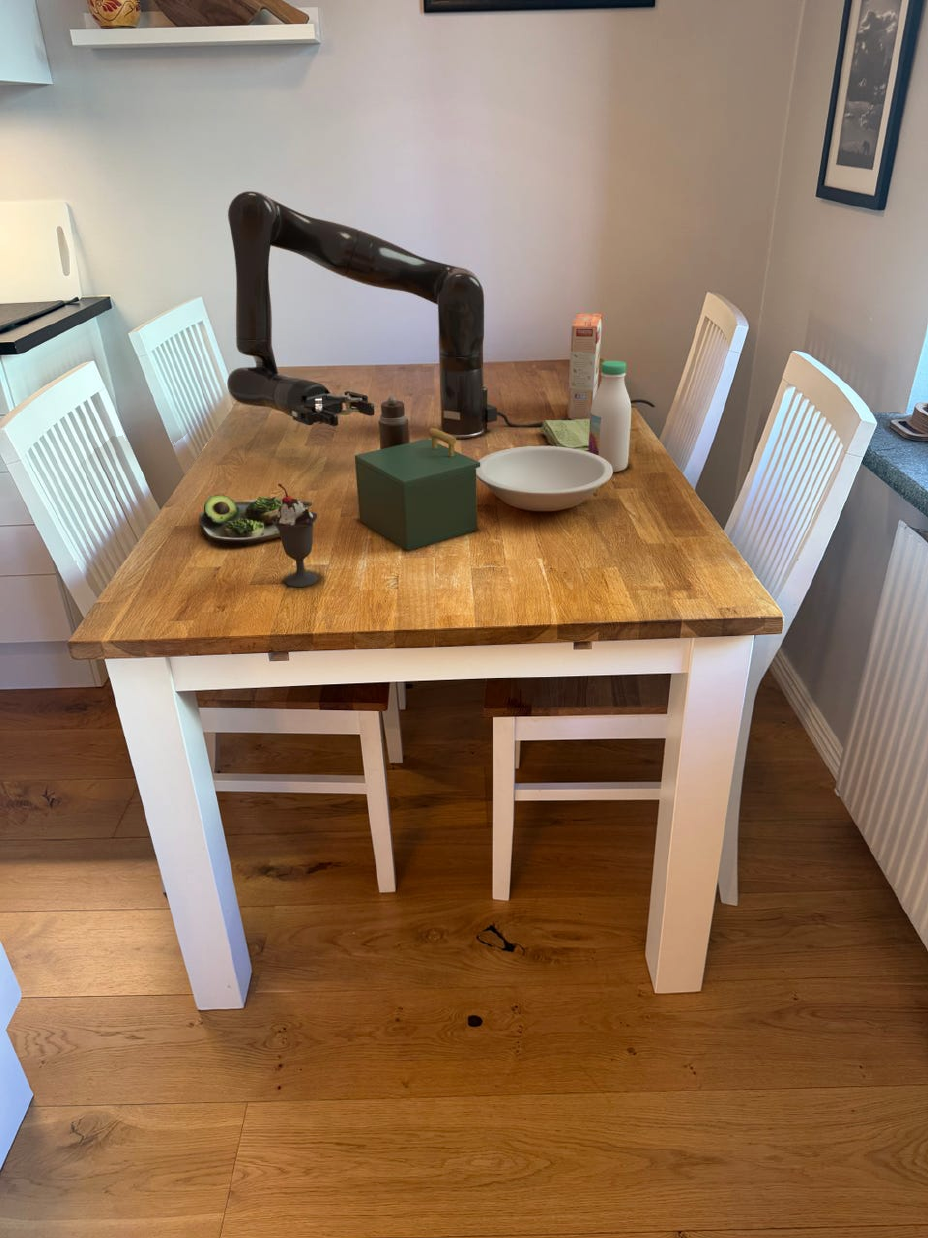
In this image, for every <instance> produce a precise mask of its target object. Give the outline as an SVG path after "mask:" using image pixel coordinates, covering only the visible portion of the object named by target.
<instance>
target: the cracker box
mask: <svg viewBox="0 0 928 1238" xmlns="http://www.w3.org/2000/svg"><path fill="white" fill-rule="evenodd" d="M602 324H603V314H601V313H581V312H580V313H577V315H576V317H575V319H574V321H573V323H572V324H571V334H570V336H571V337H570V353H569V376H568V394H567V411H566V412H567V416H566V418H571V420H575V419H578V420H579V419H590V413H591V406H592V401H593V399H594V396H595V394H596V392H597V390H598V388H599V372H600V357H601V343H602V342H601V341H602V326H603V325H602Z"/></svg>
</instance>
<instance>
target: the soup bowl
mask: <svg viewBox="0 0 928 1238" xmlns="http://www.w3.org/2000/svg"><path fill="white" fill-rule="evenodd" d="M477 461H478V462H480V467H478V468H476V479H478V480H479V481H480V482H482V483H483V484H485V485H486V487H487V488H488V489H489V490H490V492H491V493H492V494H493V495H494V496H495V497H496V498H498V499H499V500H500V501H503V502H504V503H505V504H507V505H509V506H512V507H514V508H517V509H522V510H526V511H530V512H531V511H533V512H556V511H562V510H566V509H569V508H573V507H575V506H576V507H577V506H578V505H580V504H581V503H583V502H585V501H587V500H588V499H589V498H590V497H591V496H593V495H594V494H595V493H596V491H598V489H599V487H601V486H603V485H604V484H606V483H608V482H609V480H611V478H612V476H613V473H614V472H613V469H612V466H611V464H610V463H609V462H608V461H606V460H605V459H604V458H602V457H600V456H598V455H595V454H593V453H590V452H586V451H583V450H578V449H573V448H567V447H558V446H553V445H527V446H526V445H525V446H517V447H511V448H506V449H501V450H498V451H493V452H492V453H489V454H487V455H484V456H483V457H481V458H480V459H479V460H477Z"/></svg>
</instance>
